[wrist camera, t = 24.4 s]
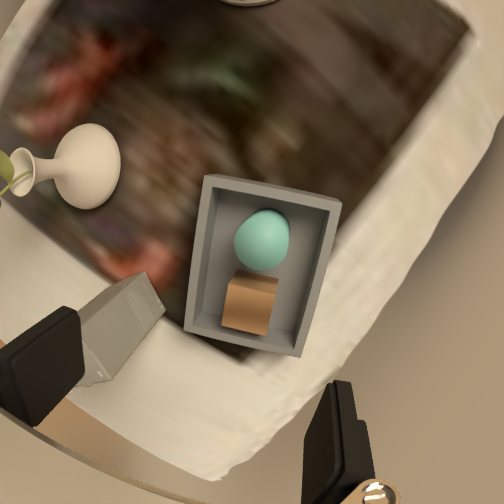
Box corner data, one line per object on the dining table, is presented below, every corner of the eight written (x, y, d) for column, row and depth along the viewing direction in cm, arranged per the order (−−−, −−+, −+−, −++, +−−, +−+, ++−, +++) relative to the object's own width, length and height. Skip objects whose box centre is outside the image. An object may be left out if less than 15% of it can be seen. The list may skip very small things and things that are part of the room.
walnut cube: (237, 269, 38) (228, 284, 34) (278, 278, 38) (275, 294, 33) (230, 306, 40) (221, 325, 35) (269, 315, 39) (265, 335, 35)
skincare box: (145, 268, 41) (75, 320, 26) (170, 315, 43) (114, 383, 27) (102, 289, 43) (32, 339, 28) (126, 331, 45) (66, 392, 29)
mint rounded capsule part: (251, 203, 36) (239, 212, 29) (294, 213, 36) (293, 224, 29) (242, 245, 38) (229, 263, 31) (284, 255, 37) (280, 276, 30)
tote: (216, 173, 37) (204, 175, 32) (336, 198, 36) (342, 203, 31) (195, 312, 42) (183, 330, 37) (300, 336, 41) (300, 357, 36)
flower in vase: (88, 109, 37) (-67, 91, 13) (142, 155, 37) (-26, 162, 13) (47, 184, 40) (-94, 215, 16) (94, 233, 41) (-53, 298, 17)
